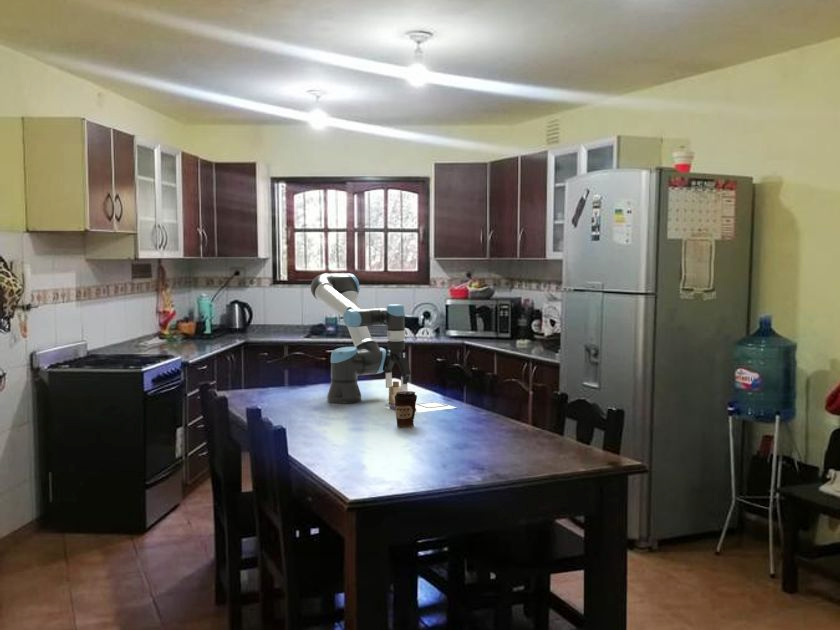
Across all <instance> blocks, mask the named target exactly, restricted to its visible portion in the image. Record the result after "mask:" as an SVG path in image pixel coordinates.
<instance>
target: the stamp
mask: <svg viewBox="0 0 840 630" xmlns="http://www.w3.org/2000/svg"><path fill="white" fill-rule="evenodd" d="M397 392H401V385H400V382H399V381H396V380H395V381H392V386H389V388H388V404H389V405H390V406H392V405H395V395H396V394H397Z"/></svg>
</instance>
